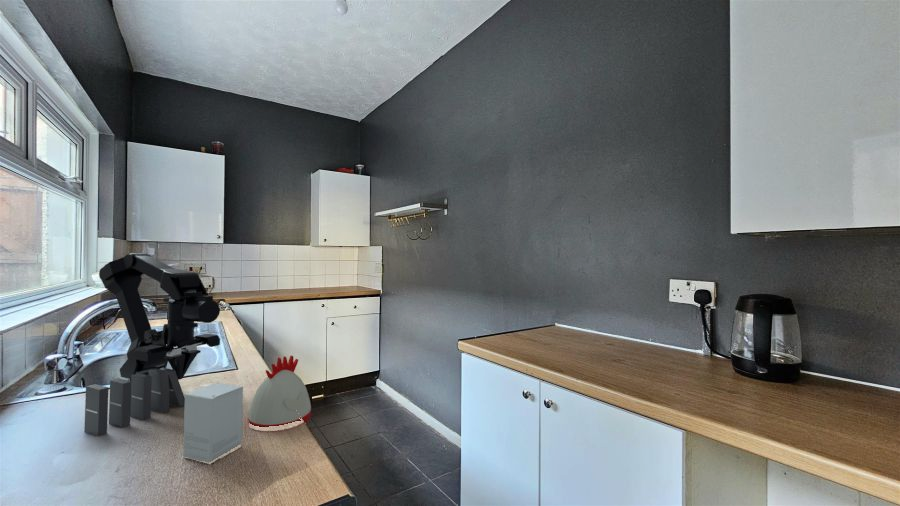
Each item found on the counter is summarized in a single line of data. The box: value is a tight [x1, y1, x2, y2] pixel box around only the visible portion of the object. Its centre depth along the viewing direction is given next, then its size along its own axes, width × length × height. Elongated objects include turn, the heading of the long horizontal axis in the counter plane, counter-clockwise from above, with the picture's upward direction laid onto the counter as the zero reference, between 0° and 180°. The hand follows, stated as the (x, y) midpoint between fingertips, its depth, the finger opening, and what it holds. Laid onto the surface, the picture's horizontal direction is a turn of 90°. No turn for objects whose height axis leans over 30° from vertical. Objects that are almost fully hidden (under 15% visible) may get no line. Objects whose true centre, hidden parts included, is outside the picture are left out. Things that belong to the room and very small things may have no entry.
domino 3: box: [130, 373, 152, 421], centre depth 88 cm, size 2×5×10 cm, turn 69°
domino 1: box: [83, 383, 110, 437], centre depth 81 cm, size 2×5×10 cm, turn 69°
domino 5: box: [159, 367, 185, 408], centre depth 95 cm, size 2×5×10 cm, turn 68°
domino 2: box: [108, 377, 131, 429], centre depth 84 cm, size 2×5×10 cm, turn 69°
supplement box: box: [182, 382, 244, 462], centre depth 74 cm, size 7×7×13 cm
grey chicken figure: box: [247, 354, 312, 427], centre depth 90 cm, size 14×14×15 cm
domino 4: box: [149, 369, 170, 414], centre depth 92 cm, size 2×5×10 cm, turn 69°
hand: (179, 379), depth 97 cm, fingers closed
